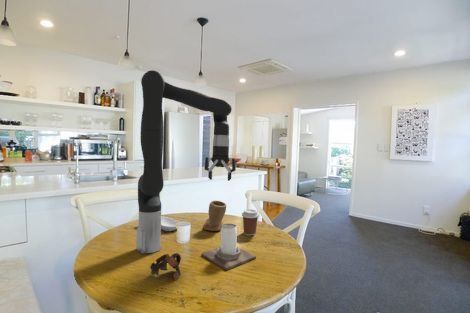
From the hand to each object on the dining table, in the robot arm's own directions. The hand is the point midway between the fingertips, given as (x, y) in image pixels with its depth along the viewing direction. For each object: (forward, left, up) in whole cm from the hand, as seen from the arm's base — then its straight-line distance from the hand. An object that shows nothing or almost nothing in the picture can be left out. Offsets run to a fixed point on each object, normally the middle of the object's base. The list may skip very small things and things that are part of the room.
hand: (219, 180), depth 118 cm
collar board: (-6, -14, -30) cm, 34 cm away
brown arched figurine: (-32, -12, -30) cm, 45 cm away
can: (-6, -14, -29) cm, 33 cm away
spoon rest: (-12, +35, -30) cm, 48 cm away
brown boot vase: (+12, +18, -30) cm, 37 cm away
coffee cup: (+21, 0, -30) cm, 37 cm away
